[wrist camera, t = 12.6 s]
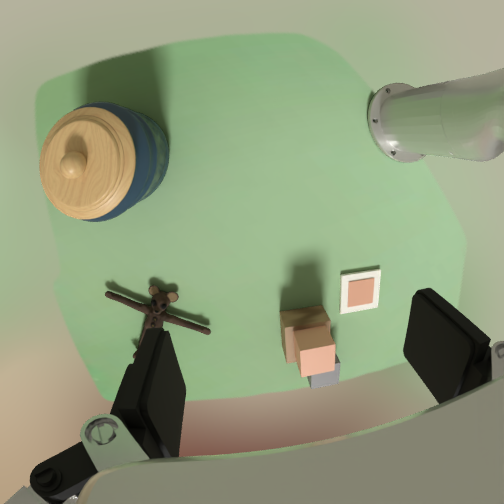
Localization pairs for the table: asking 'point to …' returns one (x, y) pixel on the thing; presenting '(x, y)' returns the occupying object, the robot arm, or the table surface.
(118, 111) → the canister
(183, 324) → the brown spindly figurine
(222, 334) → the table surface
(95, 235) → the table surface
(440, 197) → the table surface
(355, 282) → the card
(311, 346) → the terracotta block
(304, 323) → the walnut block
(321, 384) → the charcoal block
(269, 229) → the table surface
